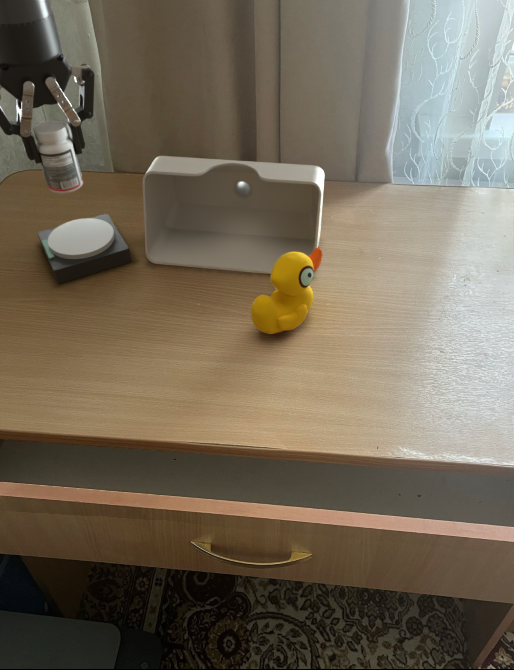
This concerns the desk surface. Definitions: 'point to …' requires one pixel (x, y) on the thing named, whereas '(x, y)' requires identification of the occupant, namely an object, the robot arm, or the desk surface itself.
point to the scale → (84, 247)
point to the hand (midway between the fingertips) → (58, 155)
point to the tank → (230, 212)
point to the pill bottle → (58, 157)
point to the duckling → (287, 293)
